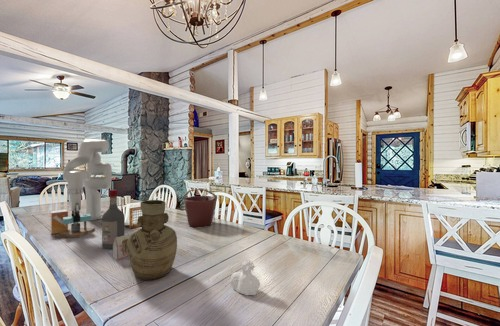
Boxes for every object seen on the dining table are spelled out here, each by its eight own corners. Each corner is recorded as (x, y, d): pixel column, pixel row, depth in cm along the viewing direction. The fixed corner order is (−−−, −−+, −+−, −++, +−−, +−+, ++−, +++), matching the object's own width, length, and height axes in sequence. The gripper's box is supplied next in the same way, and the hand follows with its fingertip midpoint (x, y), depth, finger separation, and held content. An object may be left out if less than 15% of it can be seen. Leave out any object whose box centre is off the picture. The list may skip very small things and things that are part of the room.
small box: (51, 234, 142) (51, 213, 142) (50, 231, 147) (50, 211, 146) (68, 231, 148) (68, 211, 147) (67, 229, 152) (66, 209, 152)
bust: (260, 301, 83) (269, 268, 88) (252, 296, 77) (262, 262, 83) (232, 291, 89) (241, 260, 94) (222, 286, 83) (233, 254, 89)
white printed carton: (112, 258, 110) (112, 237, 110) (127, 253, 116) (127, 233, 116) (117, 260, 108) (117, 239, 108) (131, 255, 114) (131, 235, 114)
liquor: (114, 250, 120) (114, 191, 119) (99, 248, 122) (98, 191, 121) (127, 243, 129) (126, 189, 128) (112, 242, 131) (112, 188, 130)
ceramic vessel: (133, 263, 106) (133, 197, 105) (180, 261, 108) (181, 196, 107) (112, 286, 87) (112, 206, 86) (171, 284, 89) (171, 205, 88)
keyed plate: (64, 224, 137) (64, 219, 137) (62, 222, 141) (62, 217, 141) (91, 220, 146) (91, 215, 146) (89, 218, 151) (89, 213, 151)
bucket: (176, 226, 161) (176, 190, 160) (193, 218, 182) (193, 186, 181) (208, 230, 154) (208, 192, 153) (222, 221, 175) (222, 188, 174)
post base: (73, 230, 151) (73, 214, 150) (94, 230, 150) (94, 214, 150) (54, 237, 137) (54, 220, 136) (78, 237, 136) (78, 220, 136)
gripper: (65, 190, 146) (66, 218, 147) (69, 193, 134) (70, 224, 135) (80, 189, 152) (80, 216, 152) (85, 192, 139) (85, 222, 140)
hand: (75, 220), depth 143 cm, fingers closed on keyed plate, 6 cm apart
